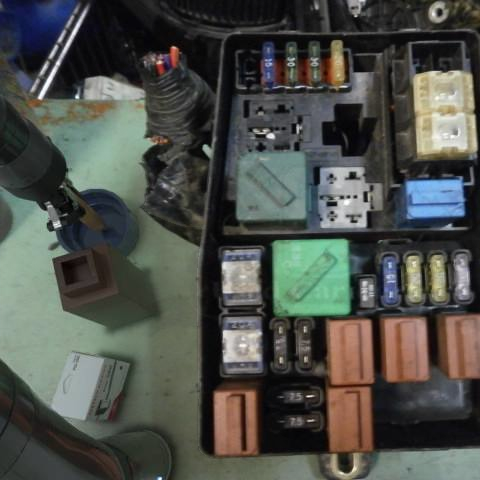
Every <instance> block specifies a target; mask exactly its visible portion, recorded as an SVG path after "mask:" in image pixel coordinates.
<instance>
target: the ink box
mask: <svg viewBox="0 0 480 480" xmlns="http://www.w3.org/2000/svg"><path fill="white" fill-rule="evenodd" d="M130 366H131V363H129V362H125V361H122V360H119V359H115V358H112V357H107V356H103V355H98V354H94V353H90V352H86V351H79V350H74V349H72V350H71V351H69V354H67V356H66V360H65V363H64V365H63V369H62V371H61V372H62V373H61V376H60V378H59V380H58V384H57V386H56V391H55V392H54V395H53V399H52V402H51V404H50V407H51V408H52V409H54V410H55V411H56V412H57V413H58V414H60V415H61V416H62V417H63V418H64V419H65V420H70V421H77V422H97V421H104V420H105V421H106V420H114V418H115V415H116V411H117V408H118V406H119V401H120V399H121V395H122V391H123V389H124V385H125V382H126V379H127V375H128V372H129V369H130Z"/></svg>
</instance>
